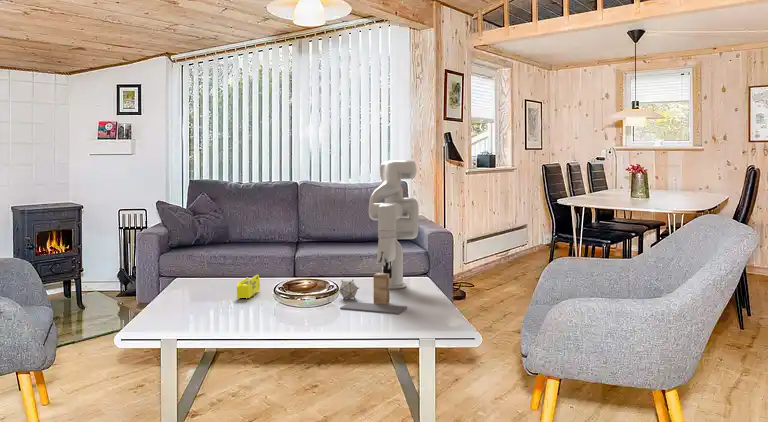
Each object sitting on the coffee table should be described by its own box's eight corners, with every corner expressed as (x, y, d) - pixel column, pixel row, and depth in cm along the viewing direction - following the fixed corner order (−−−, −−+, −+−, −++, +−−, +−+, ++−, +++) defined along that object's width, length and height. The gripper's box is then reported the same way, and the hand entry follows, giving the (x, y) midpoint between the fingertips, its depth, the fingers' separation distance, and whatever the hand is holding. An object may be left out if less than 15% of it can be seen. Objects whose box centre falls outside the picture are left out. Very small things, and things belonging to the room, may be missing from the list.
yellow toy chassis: (249, 300, 246) (249, 280, 245) (236, 300, 246) (235, 280, 246) (260, 292, 262) (260, 273, 261) (248, 291, 262) (247, 273, 262)
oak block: (378, 301, 242) (377, 272, 241) (389, 302, 240) (389, 273, 239) (373, 304, 237) (373, 275, 236) (385, 305, 236) (385, 275, 235)
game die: (351, 308, 246) (355, 292, 240) (333, 300, 247) (336, 284, 241) (359, 294, 253) (363, 278, 246) (341, 286, 254) (345, 270, 248)
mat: (351, 303, 240) (351, 301, 240) (407, 307, 231) (407, 306, 231) (340, 309, 230) (340, 307, 230) (398, 314, 222) (398, 312, 221)
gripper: (384, 232, 251) (385, 274, 253) (372, 236, 237) (372, 280, 239) (401, 232, 249) (401, 275, 250) (389, 236, 235) (389, 282, 236)
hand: (387, 278), depth 244 cm, fingers closed
